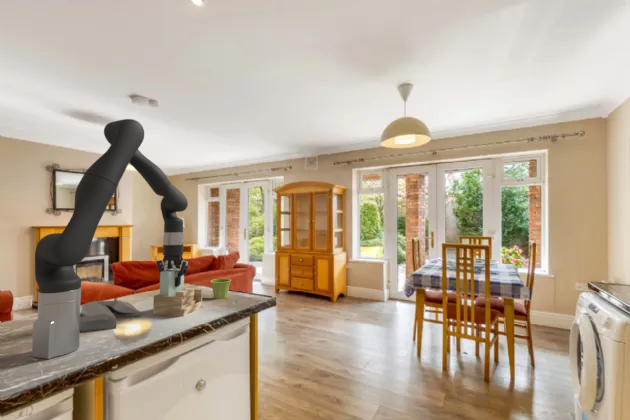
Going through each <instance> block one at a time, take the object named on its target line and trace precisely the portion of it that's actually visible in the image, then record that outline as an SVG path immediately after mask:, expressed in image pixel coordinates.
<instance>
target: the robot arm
mask: <svg viewBox="0 0 630 420" xmlns="http://www.w3.org/2000/svg"><path fill="white" fill-rule="evenodd" d="M103 135H104V139H106V141H107V142H108V143H109V145H110V146H109V147H108V149H107V150H106V151H105V152H104V153H103V154H102V155H101V156H100V157H99V158H97V159H96V160H95V161H94V162H93V163H92V164H91V165H90V166H89V167H88V168H87V169H86V171H85V172H84V173H83V176H82V178H80V181H79V183H78V184H77V186H76V190H75V192H74V193H75V194H74V203H73V204H74V207H73V213H72V214H71V215H72V216H71V217H70V219H69V221H68V223H67V224H66V226H65V228H64V229H63V231H62V232H54V233H53V232H52V233H50V234H47V235H45V236H43V237H41V239H40V240H39V241H38V243H37V245H36V247H35V250H34V276H35V277H34V279H35V282H36V283H37V286H38V297H37V298H38V299H37V301H38V302H37V319H36V320H34V321H33V324H32V346H31V348H32V351H31V357H33V358H40V359H46V360H47V359H48V360H50V359H52V358H56V357H61V356H64V355H67V354H71V353H72V352H75V351H76V350H78V349H79V348H80V337H81V336H80V334H81V332H80V316H81V299H82V279H81V277H80V276H79V275H78V274H77V273H76V272H75V269H74V266H76V265H77V264H79V263H81V262H82V261H83V260H84V259H85V257H86V256H87V254H88V252H89V250H90V248H91V245H92V242H93V239H94V238H95V234H96V232H97V229H98V227H99V223H100V221H101V219H102V217H103V216H104V213H105V211H106V209H107V207H108V205H109V204H110V202H111V199H112V198H113V195H114V194H115V192H116V190H117V188H118V185H119V183H120V181H121V179H122V177H123V176H124V174H125V172H126V169H127V168H128V165H129V164H130V165H131V166H132V167H133V168H134V170H136V171H137V173H138V174H140V176H141V177H142V178H143V180H144V181H145V182H146V184H147V185H148V186H149V187H150V188H151V190H152V191H153V192H154V193H155V194H156V195H157V196H159V197H162V198H161V201H160V211H161V216H162V219H163V223H164V224H163V237H162V239H163V240H162V256H163V257H162V259H161V260H160V259H159V260H157V261H156V265H157V270H158V273H159V274H160V272H162V271H168V270H172V269H173V271H174V272H175V287H178V286H180V284H181V276H183V275H184V276H185V275H186V274H187V271H188V267H189V265H190V261H189V260H185V259H184V258H183V255H184V220H183V218H180V217H178V215H177V213H181V212H184V211H185V210H187V208H188V199H187V198H186V196H185V195H184V193H183V192H182V191H181V190H180V189H178V188H177V187H176V186H175V185H174V184H173V183H172V182H171V181H170V179H169V178H168V177H167V175H166V173H165V172H164V171H163V170H162V168H160V167H159V166H158V165H157V164H156V163H154V162H153V161H152V160H150V159H148V158H147V157H146V156H145V155H144V154H143V152H141V151H140V147H141V145H142V144H143V142H144V140H145V129H144V127H143V125H142V124H141V123H140V122H139V121H137V120H136V119H131V118H124V119H119V120H115V121H111V122H109V123H107V124H106V125H105V127H104V129H103Z"/></svg>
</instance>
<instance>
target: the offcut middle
mask: <svg viewBox="0 0 630 420" xmlns="http://www.w3.org/2000/svg"><path fill="white" fill-rule="evenodd" d="M193 301H194V295H193V296H190V297H187V298H184V299H183V306H184V305H186V304H188V303H190V302H193Z"/></svg>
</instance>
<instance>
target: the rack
mask: <svg viewBox="0 0 630 420" xmlns="http://www.w3.org/2000/svg"><path fill="white" fill-rule="evenodd" d="M193 289H194V300H196V304H193V305H191V306H189V307H186V308H184V309H183V297H172V296H160V293H159V294H158V293H157V294H155V295H153V307H152V308H153V309H152V310H153V311H152V312H153V313H152V314H153V315H158V316H160V315H161V316H168V317H169V316H171V317H181V318H182V317H183V318H184V316H187V315H189V314H191V313H193V312H196V311H198V310H200V309H202V308H203V289H195V288H193Z"/></svg>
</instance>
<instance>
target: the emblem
mask: <svg viewBox="0 0 630 420" xmlns="http://www.w3.org/2000/svg"><path fill="white" fill-rule="evenodd" d="M80 314H81V315H80V333H82V332H84V333H85V332H95V331H104V330H114V329H117V317H120V318H139V317H141V311H140V310H139V309H137V308H136V307H135V306H133V304H131V303H130V302H128V301H122V300H95V301H89V302H88V303H83V304H82V306H81V307H80Z"/></svg>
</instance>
